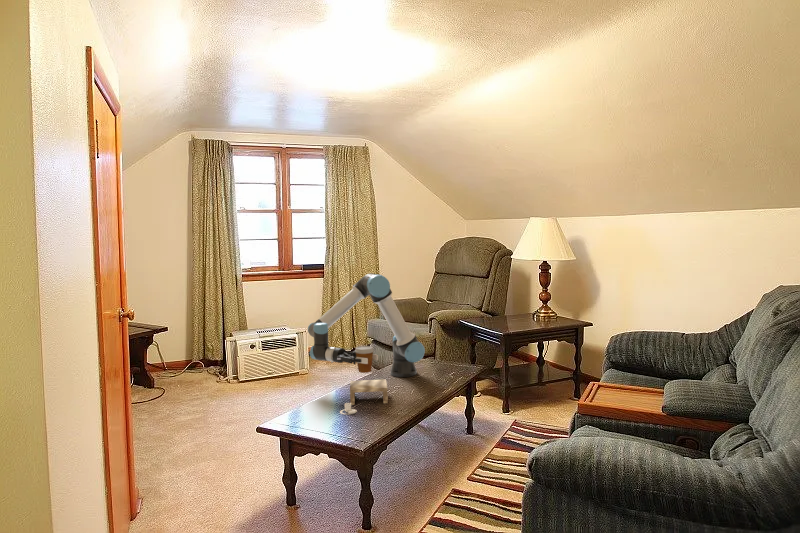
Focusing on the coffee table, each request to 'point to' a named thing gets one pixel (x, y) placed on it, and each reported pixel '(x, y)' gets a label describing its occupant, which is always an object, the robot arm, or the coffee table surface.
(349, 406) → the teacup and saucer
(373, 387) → the maple shelf
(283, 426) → the coffee table surface
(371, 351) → the disposable coffee cup
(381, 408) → the coffee table surface
